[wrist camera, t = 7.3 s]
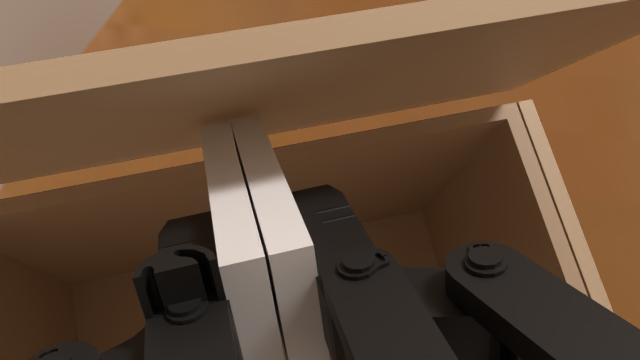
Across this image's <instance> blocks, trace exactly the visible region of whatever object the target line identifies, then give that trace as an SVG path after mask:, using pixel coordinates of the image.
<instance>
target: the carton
mask: <svg viewBox="0 0 640 360" xmlns="http://www.w3.org/2000/svg"><path fill="white" fill-rule="evenodd" d="M273 150H274V153H275V155H276V157H277V160H278V162H279V165H280V167H281V169H282V172H283V174H284V176H285V179H286V181H287V183H288V186H289V188H290V190H291V192H293V191H298V190H303V189H307V188H312V187H317V186H321V185H326V184H328V185H330V186H332V187H334V188H335V189H337V190H339V191H341V192H342V193H343V194H344V196H345V198H346V199H347V201H348V203H349V205H350V206H351V208H352V209H353V211H354V213H355V216H357V218H358V219H359V221H360V223H361V224H362V226H363V228H364V229H365V231H366V233H367V234H368V236H369V238H370V239H371V241H372V243H373V244H374V246H375V247H378V248H380V249H382V250H385V251H387V252H389V253H390V254H391V255H392V256H393V257H394V258H395V259H396V260H397V262H398V264H399V265H401V266H406V267H414V268H439V267H445V258H446V257H447V255H448V253H449V252H450V251H451V250H453V249H454V248H456V247H457V246H459V245H462V244H466V243H470V242H481V241H489V242H494V243H499V244H503V245H506V246H508V247H510V248H512V249H515V250H516V251H518V252H519V253H521V254H523V255H524V256H526V257H527V258H529V259H530V260H532V261H534V262H535V263H537V264H538V265H540V266H541V267H543V268H544V269H546V270H548V271H549V272H551V273H552V274H554V275H555V276H557V277H559V278H560V279H562V280H563V281H565V282H566V283H568V284H569V285H571V286H573V287H574V288H576V289H577V290H579V291H580V292H582V293H583V294H585V295H587V296H588V297H590V298H591V299H593V300H594V301H596V302H598V303H599V304H601V305H602V306H604V307H605V308H607V309H608V310H610V311H612V312H613V310H612V307H611V305H610V302H609V300H608V297H607V294H606V292H605V289H604V286H603V284H602V281H601V279H600V276H599V273H598V271H597V268H596V266H595V263H594V260H593V258H592V255H591V252H590V250H589V247H588V245H587V242H586V239H585V237H584V234H583V231H582V229H581V226H580V224H579V221H578V218H577V216H576V213H575V211H574V208H573V205H572V203H571V200H570V197H569V195H568V192H567V190H566V187H565V184H564V182H563V179H562V177H561V174H560V171H559V169H558V166H557V163H556V161H555V158H554V156H553V153H552V150H551V148H550V145H549V142H548V140H547V137H546V135H545V132H544V129H543V127H542V124H541V122H540V119H539V116H538V114H537V111H536V108H535V106H534V103H533V101H532V100H526V101H521V102H518V103H517V104H516V103H510V104H505V105H500V106H495V107H489V108H484V109H479V110H473V111H468V112H463V113H457V114H452V115H447V116H441V117H436V118H431V119H425V120H420V121H415V122H409V123H404V124H399V125H394V126H388V127H383V128H378V129H372V130H367V131H362V132H356V133H351V134H346V135H340V136H335V137H330V138H324V139H319V140H314V141H309V142H303V143H298V144H293V145H287V146H282V147H277V148H273ZM208 211H211V207H210V200H209V192H208V185H207V178H206V170H205V163H204V161H202V162H197V163H192V164H186V165H181V166H176V167H170V168H165V169H160V170H154V171H149V172H144V173H138V174H133V175H128V176H123V177H117V178H112V179H107V180H101V181H96V182H91V183H85V184H80V185H75V186H69V187H64V188H59V189H53V190H48V191H43V192H38V193H32V194H27V195H22V196H16V197H11V198H6V199H0V360H28V359H29V358H31V357H32V356H33V355H35V354H36V353H38V352H40V351H42V350H44V349H46V348H49V347H51V346H53V345H56V344H60V343H65V342H70V341H79V342H87V343H89V344H91V345H93V346H95V347H96V348H97V350H98V352H99V354H100V353H102V352H104V351H107V350H109V349H111V348H113V347H115V346H117V345H119V344H121V343H123V342H125V341H126V340H128V339H130V338H132V337H133V336H134V335H136V334H137V333H138V332H140V331H141V330H142V329H143V328H144V327H145V321H146V319H145V316H144V313H143V310H142V307H141V304H140V301H139V298H138V295H137V292H136V289H135V286H134V283H133V280H132V277H133V275H134V273H135V270H136V268H137V267H138V266H139V265H140V264H141V263H142V262H143V261H144V260H145V259H147V258H149V257H150V256H152V255H154V254H156V253H157V252H158V234H159V232H160V231H161V230H162V228H163V227H164V225H165V224H166V223H167V221H168V220H171V219H176V218H180V217H185V216H190V215H194V214H199V213H204V212H208ZM279 332H280V330H279ZM280 337H281V334H280ZM281 343H282V348H283V353H284V358H285V360H287V357H286V353H285V350H284V346H283V342H282V338H281ZM329 356H330V360H332V358H331V355H330V353H329Z"/></svg>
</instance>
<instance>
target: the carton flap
mask: <svg viewBox="0 0 640 360" xmlns="http://www.w3.org/2000/svg"><path fill="white" fill-rule="evenodd" d="M638 34H640V0H428V1H422V2H415V3H409V4H402V5H396V6H389V7H383V8H376V9H370V10H364V11H357V12H351V13H344V14H338V15H331V16H325V17H318V18H312V19H306V20H299V21H293V22H286V23H280V24H273V25H267V26H260V27H254V28H248V29H241V30H235V31H228V32H222V33H215V34H209V35H202V36H196V37H190V38H183V39H177V40H170V41H164V42H157V43H151V44H144V45H138V46H132V47H125V48H119V49H112V50H106V51H99V52H93V53H86V54H80V55H74V56H68V57H61V58H54V59H49V60H41V61H35V62H28V63H22V64H16V65H10V66H3V67H0V184H4V183H9V182H14V181H20V180H25V179H31V178H36V177H42V176H47V175H52V174H58V173H63V172H69V171H74V170H80V169H85V168H90V167H96V166H101V165H107V164H112V163H118V162H123V161H128V160H134V159H139V158H145V157H150V156H156V155H161V154H166V153H172V152H177V151H183V150H188V149H193V148H199V147H202V141H201V134H200V126H205V125H210V124H216V123H221V122H226V121H228V122H229V126H230V129H231V133H232V137H233V132H232V127H231V122H230V121H231V120H236V119H242V118H247V117H252V116H257V115H259V117H260V120H261V122H262V124H263V127H264V129H265V132H266V134H267V135H269V134H275V133H280V132H286V131H291V130H297V129H302V128H307V127H313V126H318V125H324V124H329V123H335V122H340V121H345V120H351V119H356V118H362V117H367V116H372V115H378V114H383V113H389V112H394V111H400V110H405V109H410V108H416V107H421V106H427V105H432V104H438V103H443V102H448V101H454V100H459V99H465V98H470V97H476V96H481V95H486V94H492V93H497V92H503V91H508V90H513V89H515V88H517V87H520V86H522V85H524V84H526V83H529V82H531V81H533V80H536V79H538V78H540V77H542V76H545V75H547V74H549V73H552V72H554V71H556V70H558V69H561V68H563V67H565V66H568V65H570V64H572V63H574V62H577V61H579V60H581V59H584V58H586V57H588V56H590V55H593V54H595V53H597V52H600V51H602V50H604V49H606V48H609V47H611V46H613V45H616V44H618V43H620V42H622V41H625V40H627V39H629V38H632V37H634V36H636V35H638ZM233 140H234V137H233Z"/></svg>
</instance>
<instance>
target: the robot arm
mask: <svg viewBox="0 0 640 360" xmlns="http://www.w3.org/2000/svg"><path fill="white" fill-rule="evenodd" d="M230 122H231V127H232V132H233V137H234V140H233V137H232V133H231V129H230V126H229V122H228V121H226V122H221V123H216V124H210V125H205V126H200V134H201V141H202V148H203V156H204V163H205V170H206V178H207V185H208V192H209V200H210V207H211V211H208V212H204V213H199V214H194V215H190V216H185V217H180V218H176V219H171V220H168V221H167V223H166V224H165V225H164V227H163V228H162V230H161V231H160V232H159V234H158V252H157V253H156V254H154V255H152V256H150V257H149V258H147V259H145V260H144V261H143V262H142V263H141V264H140V265H139V266H138V267H137V268H136V270H135V273H134V275H133V277H132V280H133V283H134V286H135V289H136V292H137V295H138V298H139V301H140V304H141V307H142V310H143V313H144V316H145V319H146V321H145V327H144V328H143V329H142V330H141V331H140V332H138V333H137V334H136V335H134V336H133V337H132V338H130V339H128V340H126V341H125V342H123V343H121V344H119V345H117V346H115V347H113V348H111V349H109V350H107V351H104V352H102V353H100V354H99V352H98V350H97V348H96V347H95V346H93V345H91V344H89V343H87V342H79V341H70V342H65V343H60V344H56V345H53V346H51V347H49V348H46V349H44V350H42V351H40V352H38V353H36V354H35V355H33V356H32V357H31V358H29V359H28V360H285V358H284V353H283V348H282V343H281V338H282V342H283V346H284V350H285V353H286V357H287V360H330V356H329V353H330V355H331V358H332V360H640V329H638V328H637V327H635V326H633V325H632V324H630V323H629V322H627V321H626V320H624V319H623V318H621V317H619V316H618V315H616V314H615V313H613V312H612V311H610V310H608V309H607V308H605V307H604V306H602V305H601V304H599V303H598V302H596V301H594V300H593V299H591V298H590V297H588V296H587V295H585V294H583V293H582V292H580V291H579V290H577V289H576V288H574V287H573V286H571V285H569V284H568V283H566V282H565V281H563V280H562V279H560V278H559V277H557V276H555V275H554V274H552V273H551V272H549V271H548V270H546V269H544V268H543V267H541V266H540V265H538V264H537V263H535V262H534V261H532V260H530V259H529V258H527V257H526V256H524V255H523V254H521V253H519V252H518V251H516V250H515V249H512V248H510V247H508V246H506V245H503V244H499V243H494V242H489V241H481V242H470V243H466V244H462V245H459V246H457V247H456V248H454V249H453V250H451V251H450V252H449V253H448V255H447V257H446V258H445V267H439V268H414V267H406V266H401V265H399V264H398V262H397V260H396V259H395V258H394V257H393V256H392V255H391V254H390V253H389V252H387V251H385V250H382V249H380V248H378V247H375V246H374V244H373V243H372V241H371V239H370V238H369V236H368V234H367V233H366V231H365V229H364V228H363V226H362V224H361V223H360V221H359V219H358V218H357V216H355V213H354V211H353V209H352V208H351V206H350V205H349V203H348V201H347V199H346V198H345V196H344V194H343V193H342V192H341V191H339V190H337V189H335V188H334V187H332V186H330V185H328V184H326V185H321V186H317V187H312V188H307V189H303V190H298V191H293V192H291V190H290V188H289V186H288V183H287V181H286V179H285V176H284V174H283V172H282V169H281V167H280V165H279V162H278V160H277V157H276V155H275V153H274V150H273V148H272V146H271V143H270V141H269V139H268V136H267V134H266V132H265V129H264V127H263V124H262V122H261V120H260V117H259V115H257V116H252V117H247V118H242V119H236V120H231V121H230ZM234 142H235V144H234ZM235 147H236V148H235ZM279 330H280V332H279ZM280 334H281V337H280Z"/></svg>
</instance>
